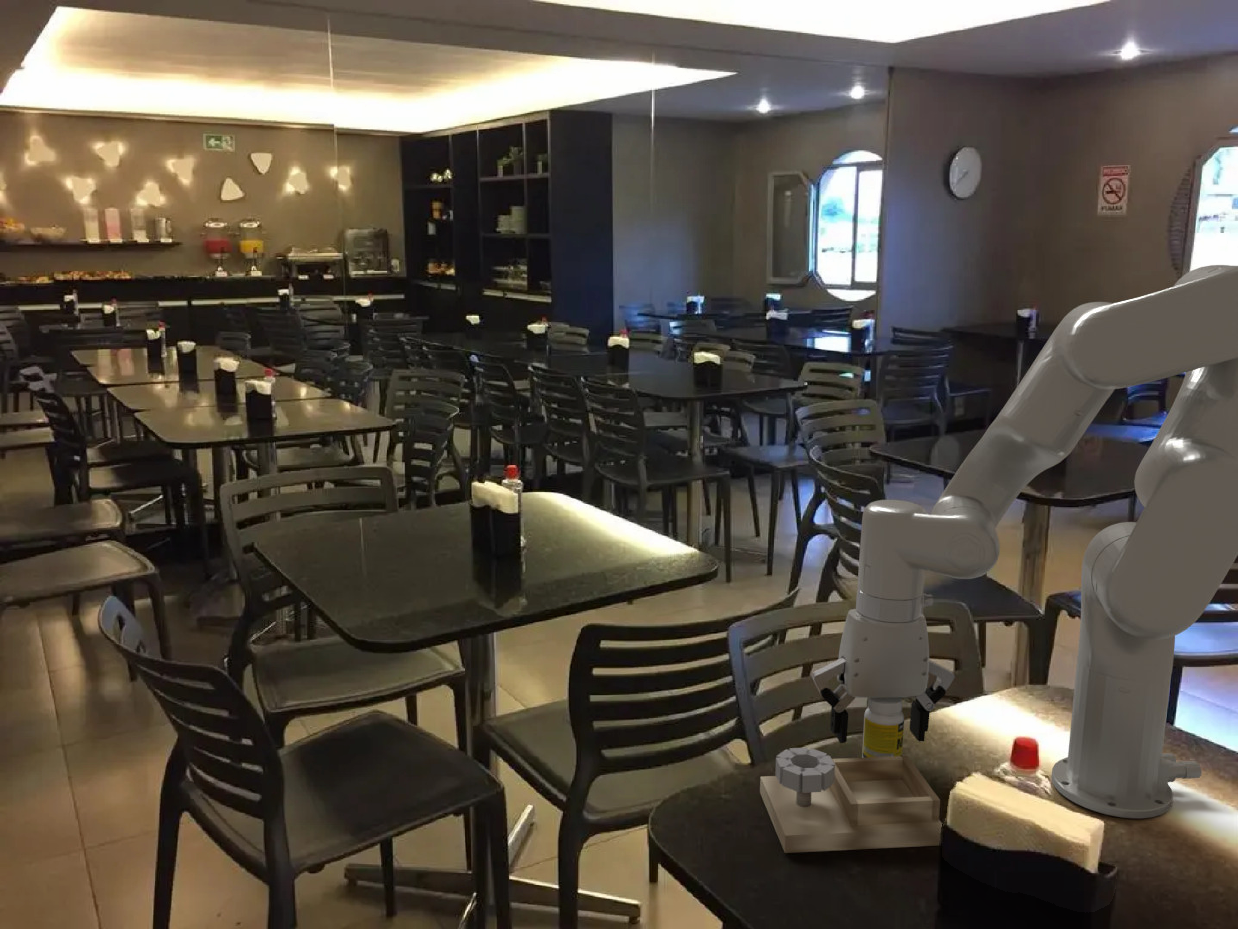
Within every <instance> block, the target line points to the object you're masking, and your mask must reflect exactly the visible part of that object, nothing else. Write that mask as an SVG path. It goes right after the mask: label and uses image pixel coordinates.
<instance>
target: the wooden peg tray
mask: <svg viewBox="0 0 1238 929" xmlns="http://www.w3.org/2000/svg"><path fill="white" fill-rule="evenodd" d="M831 759H832V760H833V762H834V764H835V775H834V784H833V785H831V786H830V787H829V788H828V789H826V790H825V791H823V790H821V792H811V793H802V790H801V791H799V792H797V791H794V790H791V789H789V788H786V787H784V786H782V784H779V781H778V779H777V777H776V775H770V776H769V775H767V776H766V775H765V776H760V782H759V783H760V785H759V794H760V796H761V798H762V801H763V804H764V805H765V808H766V810H767V813H768V815H769V817H770V818H769V819H770V821H771V823H772V825H773V828H774V830H775V832H776V835H777V837H778V839H779V842H780V844H781V847H782V849H783V850H782V851H783V852H784V854H789V853H791V854H792V853H809V852H810V853H811V852H831V851H849V850H850V851H853V850H869V849H870V850H871V849H872V850H873V849H891V848H893V849H894V848H910V847H911V848H912V847H931V846H932V847H933V846H934V847H935V846H940V845H939V841H940V833H941V827H942V824H943V823H942V822H941V820H940V810H941V809H940V808H941V807H940V806H941V799H940V798H939V797H938V795H937V794H936V792H935V791H934V790H933V788H932V787H931V786H930V784H929V783H928V782H927V780H926V779H925V777H924V776H923V775H922V773H921V772H920V770H919V769H918V768H917V767H916V765H915V764H914V763H913V762H912V760H911V759H910V756H908V755H902V756H889V757H865V758H862V757H848V758H847V757H845V758H831Z"/></svg>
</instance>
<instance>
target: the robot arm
mask: <svg viewBox="0 0 1238 929" xmlns="http://www.w3.org/2000/svg"><path fill="white" fill-rule="evenodd" d="M1184 373H1185V375H1184V378H1183V381H1182V384H1181V386H1180V388H1179V391H1178V393H1177V395H1176V397H1175V399H1174V401H1173V404H1172V406H1171V407H1170V409H1169V412H1167V413H1168V414H1167V415H1166V418H1165V419H1164V421H1163V422H1162V424H1161V427H1160V428H1159V430H1158V432H1157V434H1156V436H1155V437H1154V439H1153V441H1152V443H1151V445H1150V446H1149V448H1148V450H1147V452H1146V453H1145V455H1144V457H1143V458H1142V459H1141V461H1140V464H1139V465H1138V467H1137V469H1136V471H1135V475H1134V482H1133V483H1134V491H1135V494H1136V496H1137V498H1138V500H1139V503H1140V504H1141V505H1142V507H1144V508H1143V510H1142V512H1141V514H1140V516H1139V518H1138V519H1137V521H1136V522H1135V521H1123V522H1118V523H1115V524H1111V525H1109V526H1106V527H1105V528H1103V529H1102V530H1100V531H1099V532H1098V533H1097V534H1095V535H1094V537H1093V538H1092V539H1091V540H1090V542H1089V543H1088V545H1087V547H1086V549H1085V551H1084V555H1083V559H1082V562H1081V563H1082V565H1081V574H1080V575H1081V576H1080V577H1081V578H1080V626H1079V638H1078V649H1077V657H1076V658H1077V659H1076V668H1075V677H1074V678H1075V680H1074V689H1073V690H1074V691H1073V700H1072V709H1071V710H1072V711H1071V722H1070V733H1069V743H1068V752H1067V754H1068V755H1067V757H1064V758H1062V759H1060V760H1058V761H1056V762H1055V763H1054V764H1053V766H1052V769H1051V776H1050V777H1051V782H1052V783H1053V786H1054V787H1055V789H1057V791H1058V792H1059V793H1060V794H1061V795H1062V796H1064V797H1065V798H1066V799H1067V800H1069V801H1071V802H1073V803H1074V804H1076V805H1078V806H1081V807H1082V808H1085V809H1088V810H1090V811H1093V812H1096V813H1099V814H1102V815H1103V814H1104V815H1107V816H1112V817H1117V818H1124V819H1148V818H1154V817H1159V816H1161V815H1163V814H1165V813H1167V812H1168V811H1169V810H1170V809H1171V808H1172V805H1173V802H1174V801H1173V800H1174V799H1173V798H1174V792H1173V790H1172V788H1171V786H1170V785H1169V783H1174V782H1175V781H1176V779H1182V780H1183V779H1184V780H1185V779H1187V780H1188V779H1200V778H1201V776H1202V768H1201V765H1200V763H1198V762H1197V760H1196V761H1195V760H1185V761H1184V760H1182V761H1180V760H1179V761H1177V757H1176V756H1175V754H1174V753H1172V752H1169V753H1168V752H1167V753H1166V752H1165V753H1163V750H1164V749H1163V748H1164V741H1165V732H1166V724H1167V714H1168V706H1169V705H1168V704H1169V698H1170V687H1171V680H1172V674H1173V668H1174V666H1173V665H1174V658H1175V657H1174V656H1175V646H1176V645H1175V644H1176V636H1177V635H1179V634H1182V633H1183V632H1184V631H1186V630H1188V629H1189V628H1190V627H1191V626H1193V625H1194V624H1195V623H1196V621H1198V619H1200V617H1201V616H1202V615H1203V613H1204V612H1205V611H1206V609H1207V607H1208V606H1209V604H1210V603H1211V601H1212V600H1213V598H1214V596H1215V594H1216V593H1217V592H1218V590H1219V588H1220V586H1221V585H1222V584H1223V581H1224V579H1226V578H1225V577H1226V576H1227V574H1228V572H1229V571H1230V569H1231V567H1232V566H1233V564H1234V563H1235V561H1236V559H1237V558H1238V265H1229V264H1227V265H1226V264H1214V265H1213V264H1211V265H1206V266H1200V267H1198V268H1195V269H1192V270H1190V271H1188V272H1186V273H1185V274H1184V275H1182V276H1181V277H1180V278H1179V279H1178V280H1177V281H1176V282H1175V283H1174V285H1173V286H1171V287H1168V288H1165V289H1162V290H1158V291H1155V292H1152V293H1147V294H1145V295H1141V296H1138V297H1134V298H1131V299H1127V300H1122V301H1119V302H1110V301H1109V302H1108V301H1094V302H1093V301H1091V302H1086V303H1083V304H1080V305H1078V306H1076V307H1075V308H1073V309H1072V310H1070V311H1069V312H1068V313H1067V314H1066V315H1065V316H1064V317H1063V318H1062V320H1060V322H1059V323H1058V325H1057V326H1056V327H1055V329H1054V330H1053V332H1052V334H1051V335H1050V336H1049V338H1048V339H1047V341H1046V343H1045V344H1044V346H1043V347H1042V349H1041V350H1040V351H1039V353H1038V355H1037V356H1036V358H1035V360H1034V361H1033V362H1032V364H1031V366H1030V368H1029V369H1028V370H1027V371H1026V373H1025V374H1024V376H1023V378H1022V379H1021V381H1020V383H1019V384H1018V386H1016V388H1015V390H1014V391H1013V393H1012V394H1011V396H1010V397H1009V398H1008V400H1007V402H1006V403H1005V404H1004V406H1003V408H1001V410H1000V412H999V413H998V415H997V416H996V417H995V419H994V420H993V421H992V423H990V425H989V426H988V428H987V429H986V431H985V433H984V434H983V435H982V437H981V438H980V440H979V441H978V442H977V443H976V445H975V446H974V447H973V449H971V451H970V452H969V453H968V455H967V456H966V457H965V459H964V460H963V461H962V463H961V465H960V466H959V468H958V469H957V470H956V472H955V474H954V475H953V477H952V478H951V479H950V481H949V482H948V484H947V486H946V487H945V489H944V490H943V491H942V493H941V495H940V496H939V498H938V499H937V500H936V502H935V505H934V506H933V508H932V510H931V513H930V514H929V513H928V512H927V510H926V509H925V508H924V507H923V506H921V505H920V504H917V503H914V502H911V501H906V500H901V499H900V500H899V499H880V500H879V499H878V500H875V501H871V502H870V503H868V504H867V505H866V506H865V508H864V510H863V511H862V512H863V513H862V519H861V529H860V530H861V531H860V532H861V533H860V544H859V545H860V546H859V547H860V548H859V557H858V558H859V560H858V573H857V574H858V575H857V587H856V588H857V590H856V603H855V608H853V609H852V608H851V609H849V610H848V612H847V615H846V618H845V623H844V626H843V631H842V635H841V640H840V644H839V652H838V659H837V660H835V661H833V662H831V663H829V664H827V665H824V666H823V667H820V668H819V669H817V670H815V671H813V672H811V678H812V680H813V683H814V684H815V686H816V688H817V691H818V692H819V694H820V696H821V697H822V698H823V699H824V700H825V702H827V703H828V705H829V706H831V709H830V711H831V712H830V724H829V725H830V731H831V733H832V734H834V735H835V737H836V738H837V740H838V742H839V744H845V743H846V742H847V738H848V729H849V728H848V726H849V712H848V711H847V709H846V708H847V707H849V706H850V704H851V703H853V701H854V700H856V699H868V698H902V699H903V698H915V699H913V700H912V702H911V706H910V717H909V718H910V719H909V731H910V733H911V734H912V735H913V736H914V737H915V739H916V741H918V742H925V735H926V732H928V730H929V722H930V712H932V711H933V710H934V708H935V704H937V703H938V702H939V701H940V700H942V699H943V697H945V696H946V693H947V689H949V687H950V685H951V684H952V682H953V681H954V680H955V674H954V673H953V672H952V671H951V670H950V669H948V668H946V667H944V666H942V665H941V664H939V663H937V662H934V661H933V660H931V659H930V647H929V635H928V626H927V620H926V616H925V615H924V608H926V607H928V606H929V607H931V606H933V605H934V596H933V595H932V594H926V593H924V583H925V571H927V572H931V573H934V574H937V575H941V576H945V577H950V578H954V579H959V580H960V579H961V580H962V579H963V580H970V579H976V578H980V577H983V576H984V575H986V574H987V573H989V572H990V571H991V570H992V569H993V568H994V566H996V564H997V562H998V560H999V557H1000V550H1001V547H1000V546H1001V545H1000V544H1001V543H1000V540H999V536H998V533H997V529H996V528H997V526H998V525H999V523H1000V522H1001V520H1002V519H1003V518H1004V516H1005V514H1006V512H1007V511H1008V510H1009V509H1010V508H1011V506H1012V504H1013V503H1014V501H1015V500H1016V499H1017V497H1018V496H1019V495H1020V494H1021V492H1022V491H1023V490H1024V489H1025V487H1027V485H1029V483H1030V482H1032V480H1034V478H1035V477H1037V476H1038V475H1039V474H1041V473H1042V472H1044V471H1046V470H1048V469H1050V468H1052V467H1054V466H1056V465H1058V464H1059V463H1061V462H1062V461H1063V460H1064V459H1065V458H1067V457H1068V456H1069V455H1070V454H1071V453H1072V452H1073V450H1074V449H1075V447H1076V446H1077V444H1078V442H1079V441H1080V440H1081V438H1082V437H1083V435H1084V434H1085V432H1086V431H1087V429H1088V428H1089V427H1090V425H1091V424H1092V422H1093V420H1095V417H1097V415H1098V413H1099V412H1100V410H1101V409H1102V408H1103V406H1104V405H1105V403H1106V401H1107V400H1108V399H1109V398H1110V397H1111V395H1112V394H1113V393H1114V392H1115V390H1116V389H1117V390H1119V389H1123V388H1129V387H1134V386H1135V387H1136V386H1138V385H1144V384H1147V383H1151V382H1155V381H1160V380H1163V379H1164V380H1165V379H1167V378H1171V377H1175V376H1177V375H1181V374H1184ZM929 674H931V675H932V676H935V677H936V680H935V682H934V683H932V684H931V685H930V686H928V684H929V677H930V675H929ZM835 677H836V678H837V682H838V683H840V684H839V685H838V686H837V687H836V688H835V689H834V690H832V689H831V688H830V687H829V685H828V682H829V680H833V679H834V678H835Z"/></svg>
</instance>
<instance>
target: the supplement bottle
mask: <svg viewBox="0 0 1238 929" xmlns="http://www.w3.org/2000/svg"><path fill="white" fill-rule="evenodd" d="M902 710H903V697H902V698H867V708H866V709H865V712H864V714H863V716H864V717H863V735H862V737H863V738H862V750H861V751H862V752H861V753H862V754H861V758H865V757H889V756H903V746H904V728H905V716H904V713H903V712H902Z"/></svg>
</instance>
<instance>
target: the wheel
mask: <svg viewBox="0 0 1238 929" xmlns="http://www.w3.org/2000/svg"><path fill="white" fill-rule="evenodd" d="M832 759H833V758H832V757H831V756H830V755H828V753H826V752H823V751H820V750H818V749H815V748H812V747H811V748H809V749H808V747H792V748H791V747H790V748H789V749H785V750H783V751H781V752H780V753H779V754H777V755H776V757H775V775H774V776H776V777H777V779H778V781H779V784H782V786H784V787H786V788H789V789H791V790H794V791H797V792H799V791H801V790H802V793H811V792H821V790H823V791H825V790H826V789H828V788H829V787H830V786H831V785H833V784H834V775H835V764H834V762H833V760H832Z"/></svg>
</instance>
